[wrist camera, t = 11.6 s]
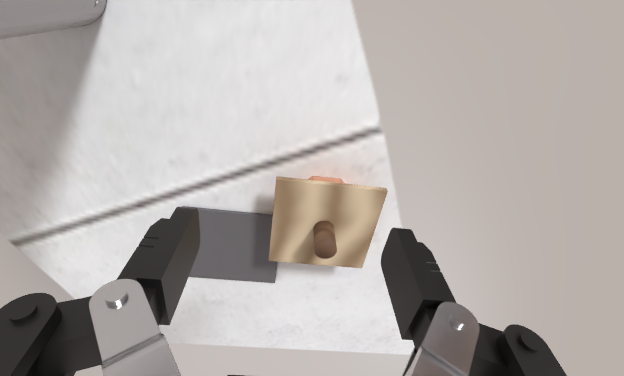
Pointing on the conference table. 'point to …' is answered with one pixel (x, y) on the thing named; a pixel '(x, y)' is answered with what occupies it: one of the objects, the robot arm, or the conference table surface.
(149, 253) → the robot arm
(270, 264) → the rubber mat
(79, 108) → the conference table surface
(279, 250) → the oak lid
